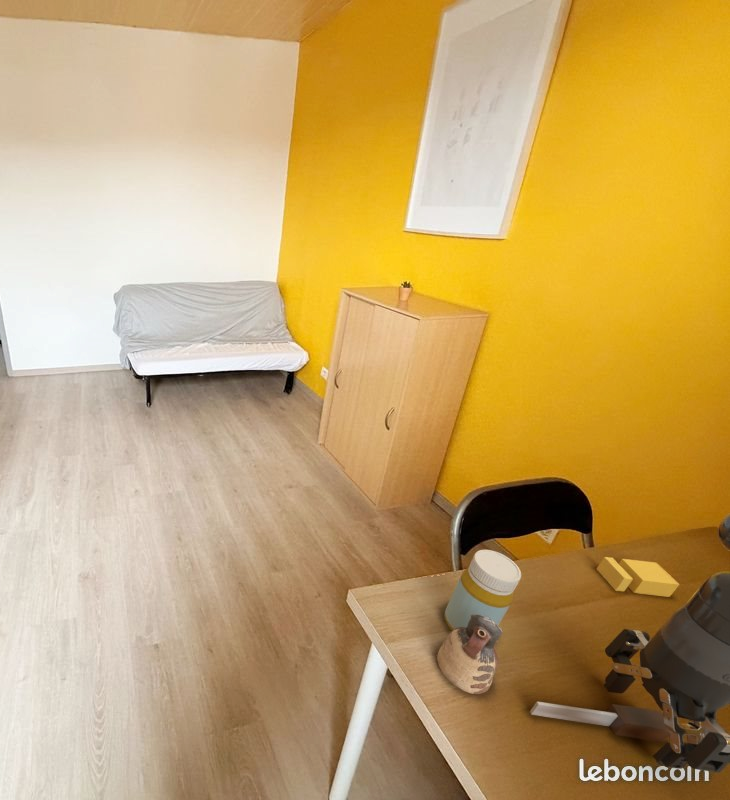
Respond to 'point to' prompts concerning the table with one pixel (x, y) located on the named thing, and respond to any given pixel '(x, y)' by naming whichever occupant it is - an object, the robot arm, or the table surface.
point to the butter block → (649, 578)
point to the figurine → (471, 655)
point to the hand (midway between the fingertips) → (636, 723)
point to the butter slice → (614, 574)
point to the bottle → (483, 589)
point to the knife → (612, 719)
